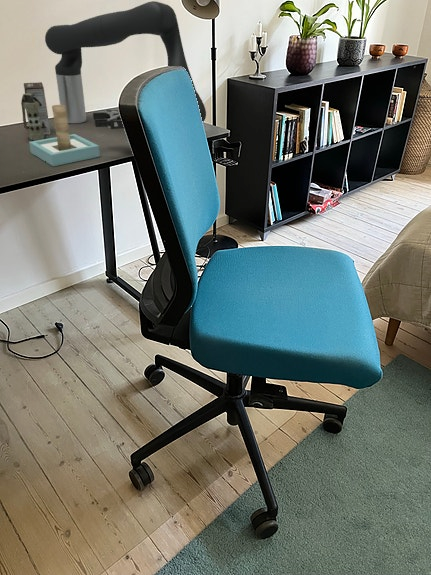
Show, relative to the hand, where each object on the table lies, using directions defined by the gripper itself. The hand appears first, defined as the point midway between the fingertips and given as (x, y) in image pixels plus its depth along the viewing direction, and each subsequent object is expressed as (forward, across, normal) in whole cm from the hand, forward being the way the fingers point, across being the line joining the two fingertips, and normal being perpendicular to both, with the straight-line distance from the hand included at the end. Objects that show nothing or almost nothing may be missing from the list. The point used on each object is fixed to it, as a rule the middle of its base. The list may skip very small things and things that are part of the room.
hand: (94, 119), depth 148 cm
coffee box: (+18, -28, +11) cm, 35 cm away
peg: (+10, 0, +11) cm, 15 cm away
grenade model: (+20, -20, +11) cm, 30 cm away
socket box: (+10, 0, +11) cm, 15 cm away
